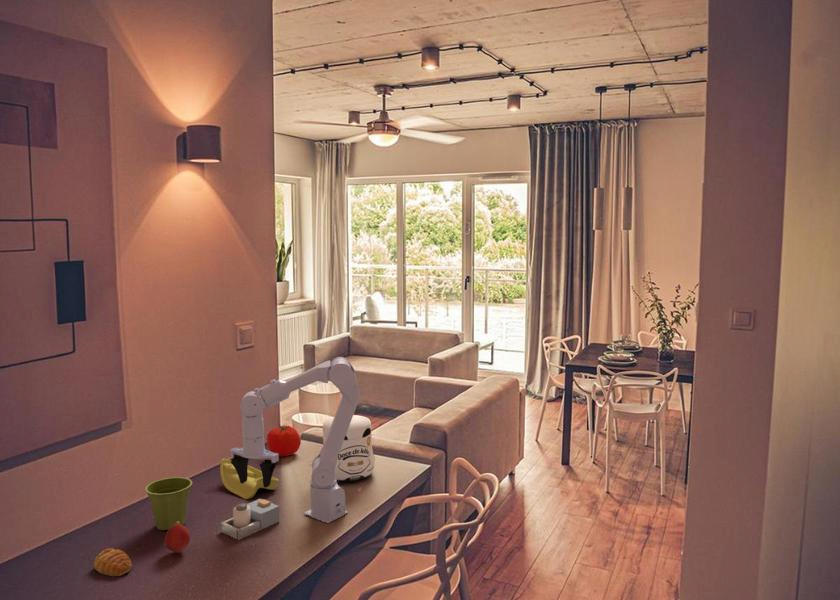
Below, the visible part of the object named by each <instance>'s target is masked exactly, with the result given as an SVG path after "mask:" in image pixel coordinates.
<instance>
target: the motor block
mask: <svg viewBox="0 0 840 600" xmlns="http://www.w3.org/2000/svg"><path fill="white" fill-rule="evenodd" d="M246 504H247V505H248V506H250V516H251V517H253V518H255V519H257V520H260V521H261V529H262V528H265V527H267V526H269V525H271V524H273V523H276V522H278V521H279V522H280V505H277V504H274V503H273V502H271V501H269V500H267V499H265V498H258V499H256V500H253V501H250V502H249V503H248V502H247V503H246ZM279 522H278V523H279ZM276 524H277V523H276ZM267 528H268V527H267ZM265 529H266V528H265Z"/></svg>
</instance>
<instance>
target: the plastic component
mask: <svg viewBox="0 0 840 600" xmlns="http://www.w3.org/2000/svg"><path fill="white" fill-rule="evenodd" d="M231 460H232V459H228V458H222V459H221V460H220V465H219V473H220V479H221V482H222V484H223V486H224V487H225V489H227V490H228V491H229V492H231V493H233V494H235V495H236V496H238V497H240V498H242V499H244V500H250V499H252V498H253V497H254V496H255V495H256V493H257V492H258V490H259V489H265V490H270V491H272V490H273V491H275V490H276V489H277V486H278V483H279V479H278V478H277V477H274V476H272V478H271V483H270V485H269V486H268V487H264V486H263V475H262V471H261V469H260V470H259V469H258V468H255V467H253V466H251V465H248V467H247V481H246V482H244V483H243V484H242V483H240V479H239V476H238V474H237V471H236V469H235V468H234V466H233V465H232V463H231Z"/></svg>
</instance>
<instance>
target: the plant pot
mask: <svg viewBox="0 0 840 600" xmlns="http://www.w3.org/2000/svg"><path fill="white" fill-rule="evenodd" d="M192 485H193V481H192V479H190V478H188V477H181V476H180V477H179V476H177V477H166V478H165V477H164V478H161V479H158V480H155V481H152V482H150V483H148V484H147V485H146V486H145V488H144V492H146V493H147V496H148V499H149V501H150V504H151V509H152V513H153V517H154V522H155V526H156V529H157V530H159V531H166V530H167V531H168V530H169V529H170V528H171V527H172V526H173V525H174V524H175V523H176V522H180V525H183V526H185V525H184V524H185V523H186V517H187V510H188V509H187V508H188V501H189V495H190V491H191V487H192Z"/></svg>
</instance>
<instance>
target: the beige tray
mask: <svg viewBox="0 0 840 600" xmlns="http://www.w3.org/2000/svg"><path fill="white" fill-rule="evenodd" d="M219 524H220V526H219V527H220V533H221V534H224V533H225V534H224V535H226V534H227V535H226V536H228V535H229V537H230V536H231V537H230V538H232V537H233V538H232V539H234V538H235V540H236V539H237V541H241V540H243V539H244V538H243V537H245V536H247V535H249V534H251V533H253V532H255V531H257V530H260V529H261V521H260V520H257V519H255V518H253V517H251V524H249V525H247V526H245V527H242V528H240V529H237V528H235V527H234V526H233V517H230V518H229V519H227V520H224V521H222V522H220V523H219ZM260 531H261V530H260ZM251 535H252V534H251ZM249 536H250V535H249ZM247 537H248V536H247ZM242 538H243V539H242ZM245 538H246V537H245ZM240 539H241V540H240Z"/></svg>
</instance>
